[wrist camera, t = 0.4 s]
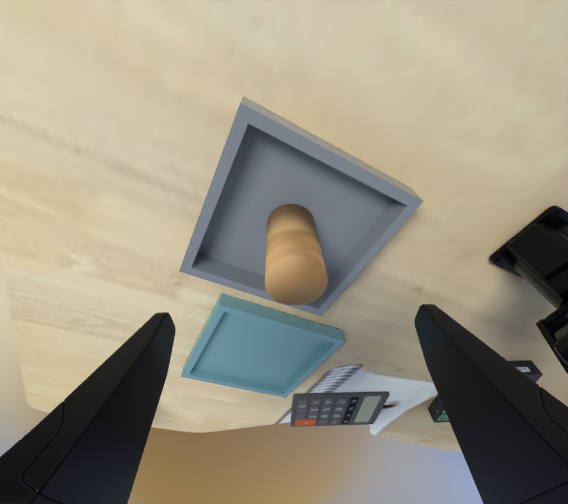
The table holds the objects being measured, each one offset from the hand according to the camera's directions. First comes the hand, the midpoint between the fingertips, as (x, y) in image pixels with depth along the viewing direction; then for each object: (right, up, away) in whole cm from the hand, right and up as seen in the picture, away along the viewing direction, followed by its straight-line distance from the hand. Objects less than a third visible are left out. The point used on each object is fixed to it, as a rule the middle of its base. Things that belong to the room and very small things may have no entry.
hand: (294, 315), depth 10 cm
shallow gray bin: (0, +5, +13) cm, 14 cm away
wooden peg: (0, +4, +13) cm, 14 cm away
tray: (-4, -10, +24) cm, 26 cm away
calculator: (+8, -24, +36) cm, 44 cm away
